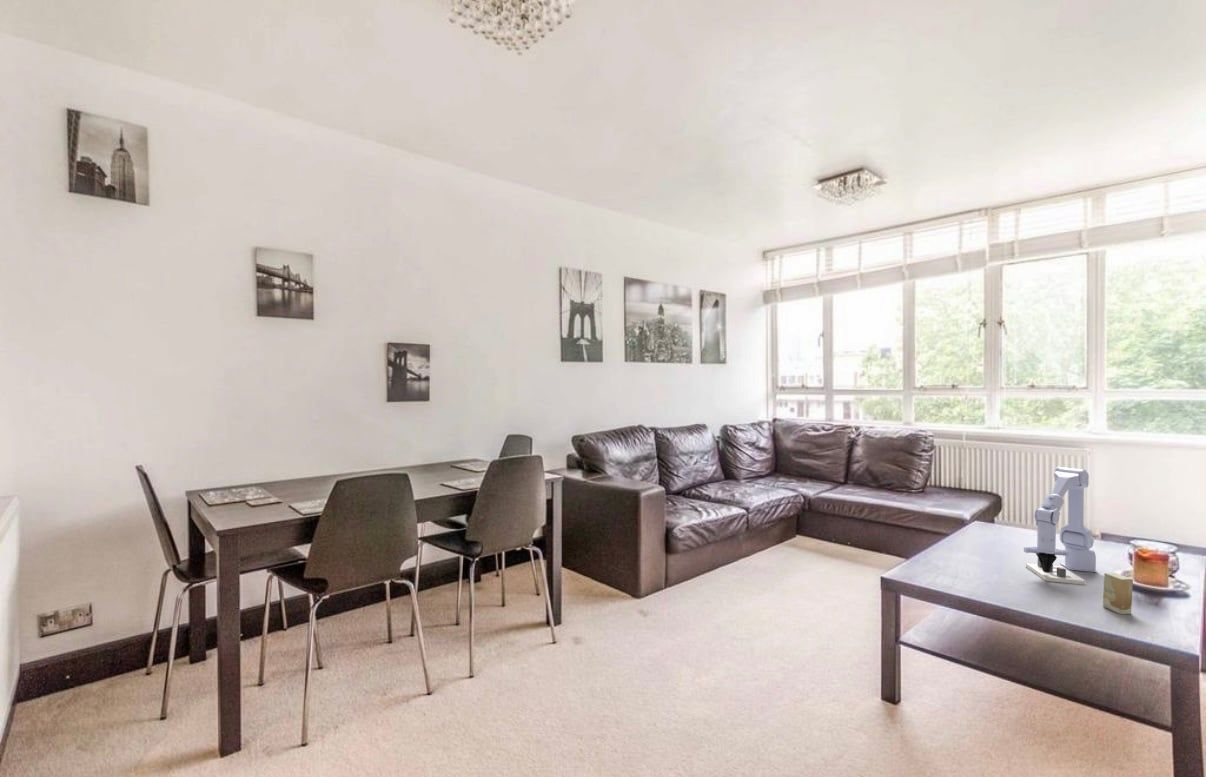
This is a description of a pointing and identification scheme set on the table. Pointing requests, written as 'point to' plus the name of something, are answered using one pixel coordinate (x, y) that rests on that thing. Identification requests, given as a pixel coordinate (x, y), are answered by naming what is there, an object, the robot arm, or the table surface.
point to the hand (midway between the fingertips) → (1045, 571)
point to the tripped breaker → (1061, 572)
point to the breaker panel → (1054, 574)
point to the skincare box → (1117, 593)
